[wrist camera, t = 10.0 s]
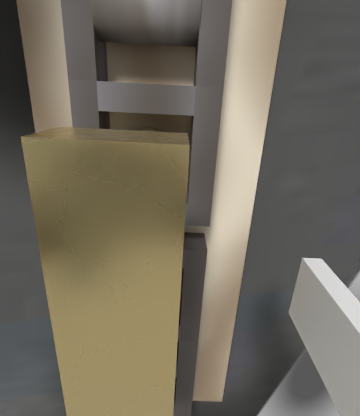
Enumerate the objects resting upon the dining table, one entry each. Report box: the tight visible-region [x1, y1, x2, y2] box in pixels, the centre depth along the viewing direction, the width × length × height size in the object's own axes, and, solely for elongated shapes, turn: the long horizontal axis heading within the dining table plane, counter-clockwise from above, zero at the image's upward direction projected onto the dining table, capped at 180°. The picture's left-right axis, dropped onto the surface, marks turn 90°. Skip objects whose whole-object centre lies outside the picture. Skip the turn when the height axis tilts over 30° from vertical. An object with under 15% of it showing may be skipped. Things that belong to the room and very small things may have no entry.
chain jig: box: [16, 0, 286, 416], centre depth 16 cm, size 12×32×4 cm, turn 177°
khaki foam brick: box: [21, 126, 190, 416], centre depth 12 cm, size 4×12×9 cm, turn 177°
